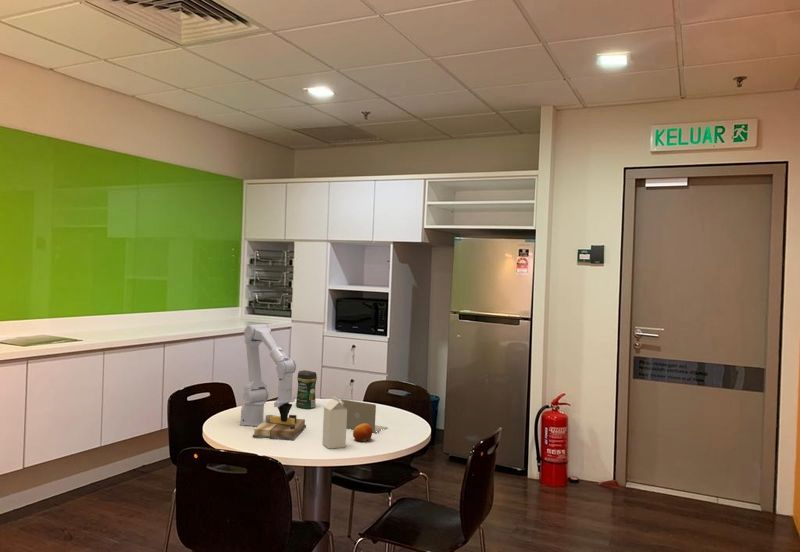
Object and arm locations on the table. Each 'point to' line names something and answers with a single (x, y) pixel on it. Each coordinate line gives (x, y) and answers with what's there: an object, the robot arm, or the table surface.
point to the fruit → (362, 432)
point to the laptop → (361, 415)
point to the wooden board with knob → (280, 430)
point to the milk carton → (334, 424)
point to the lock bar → (279, 420)
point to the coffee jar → (306, 389)
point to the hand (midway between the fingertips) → (283, 421)
